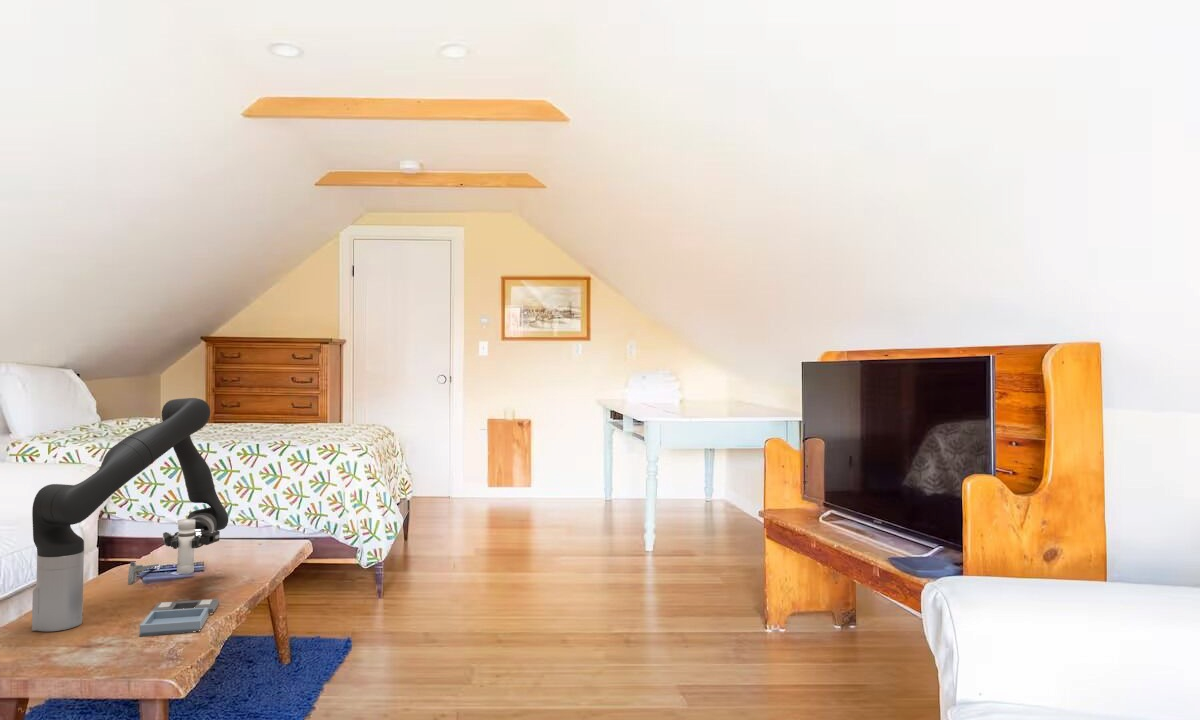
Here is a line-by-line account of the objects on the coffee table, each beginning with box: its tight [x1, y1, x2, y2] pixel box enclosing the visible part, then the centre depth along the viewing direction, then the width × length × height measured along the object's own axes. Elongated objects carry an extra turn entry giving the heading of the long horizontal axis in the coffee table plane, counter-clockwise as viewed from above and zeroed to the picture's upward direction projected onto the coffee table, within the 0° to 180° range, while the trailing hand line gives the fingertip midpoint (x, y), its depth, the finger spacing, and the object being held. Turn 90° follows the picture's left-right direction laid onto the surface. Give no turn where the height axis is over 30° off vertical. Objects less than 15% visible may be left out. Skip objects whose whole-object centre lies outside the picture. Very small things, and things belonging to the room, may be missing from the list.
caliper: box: [127, 561, 159, 585], centre depth 234 cm, size 20×1×6 cm, turn 9°
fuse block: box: [151, 598, 220, 614], centre depth 201 cm, size 14×9×2 cm, turn 107°
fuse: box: [176, 518, 195, 575], centre depth 201 cm, size 4×4×13 cm
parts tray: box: [139, 608, 209, 637], centre depth 190 cm, size 12×11×2 cm
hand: (184, 544), depth 199 cm, fingers closed on fuse, 3 cm apart
